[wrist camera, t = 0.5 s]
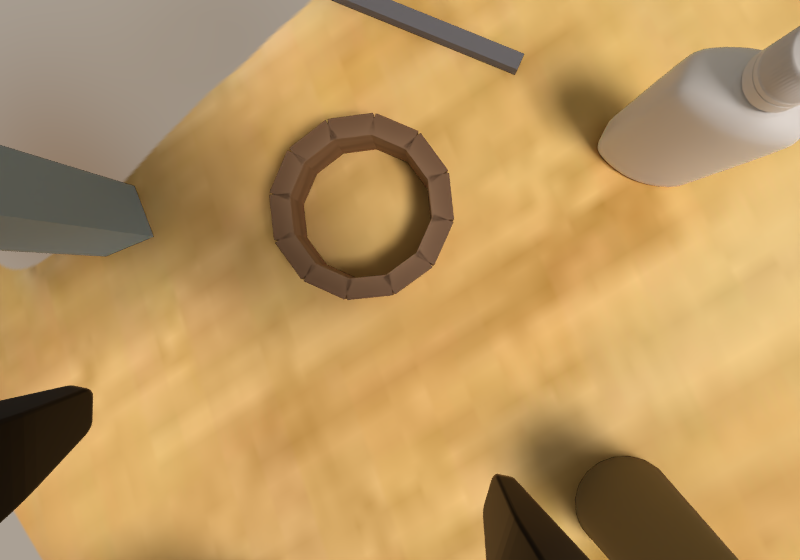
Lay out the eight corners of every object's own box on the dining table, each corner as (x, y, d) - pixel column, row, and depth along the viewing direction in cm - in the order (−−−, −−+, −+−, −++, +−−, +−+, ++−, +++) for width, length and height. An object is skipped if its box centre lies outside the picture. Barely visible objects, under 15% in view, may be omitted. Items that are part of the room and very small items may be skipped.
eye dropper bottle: (646, 95, 23) (892, -104, 11) (700, 170, 23) (1010, 54, 11) (584, 137, 23) (758, -11, 11) (637, 212, 23) (872, 145, 11)
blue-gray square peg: (154, 237, 25) (-139, 196, 12) (105, 257, 25) (-235, 239, 12) (134, 184, 25) (-180, 87, 12) (85, 205, 25) (-275, 132, 12)
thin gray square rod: (514, 74, 23) (517, 69, 23) (310, -9, 24) (308, -16, 23) (521, 59, 23) (524, 53, 23) (317, -24, 24) (314, -31, 23)
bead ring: (408, 321, 24) (406, 327, 21) (262, 255, 24) (243, 253, 22) (475, 170, 23) (482, 158, 21) (325, 106, 24) (314, 87, 22)
